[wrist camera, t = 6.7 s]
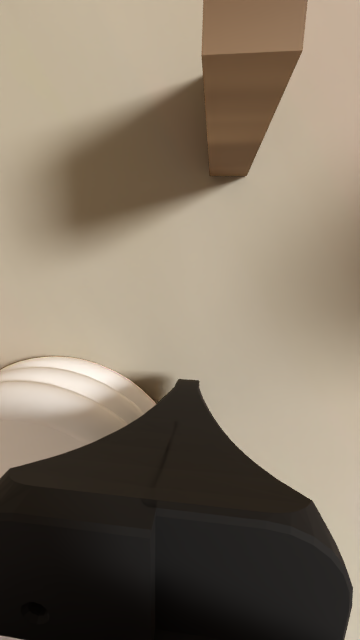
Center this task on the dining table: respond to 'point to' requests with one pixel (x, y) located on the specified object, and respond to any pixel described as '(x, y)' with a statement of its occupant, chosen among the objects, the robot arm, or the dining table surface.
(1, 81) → the dining table surface
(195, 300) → the dining table surface
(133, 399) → the white short cylinder
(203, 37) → the wall frame
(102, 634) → the robot arm
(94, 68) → the dining table surface
